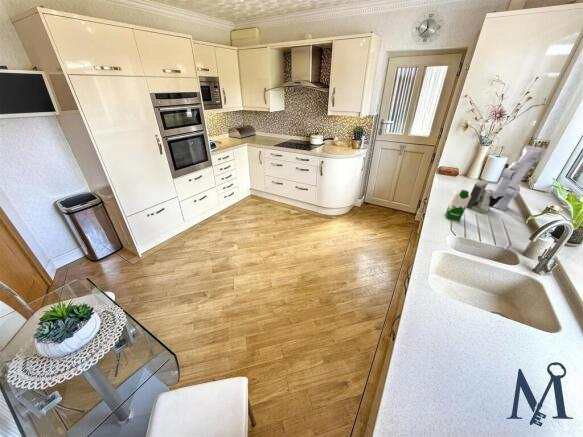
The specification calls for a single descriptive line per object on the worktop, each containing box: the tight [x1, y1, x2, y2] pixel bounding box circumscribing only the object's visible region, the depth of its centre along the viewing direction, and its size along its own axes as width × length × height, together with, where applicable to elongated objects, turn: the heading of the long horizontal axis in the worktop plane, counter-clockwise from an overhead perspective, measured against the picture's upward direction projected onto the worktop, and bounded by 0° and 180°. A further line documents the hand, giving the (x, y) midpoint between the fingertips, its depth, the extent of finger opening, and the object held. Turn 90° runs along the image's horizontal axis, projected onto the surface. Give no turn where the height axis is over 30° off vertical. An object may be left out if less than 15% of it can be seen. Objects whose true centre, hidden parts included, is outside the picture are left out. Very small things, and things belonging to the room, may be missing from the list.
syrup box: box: [476, 188, 494, 212], centre depth 164 cm, size 6×6×14 cm
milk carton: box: [445, 189, 471, 222], centre depth 150 cm, size 9×9×20 cm
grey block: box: [466, 179, 491, 214], centre depth 165 cm, size 14×12×18 cm
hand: (492, 205), depth 162 cm, fingers open, 7 cm apart
